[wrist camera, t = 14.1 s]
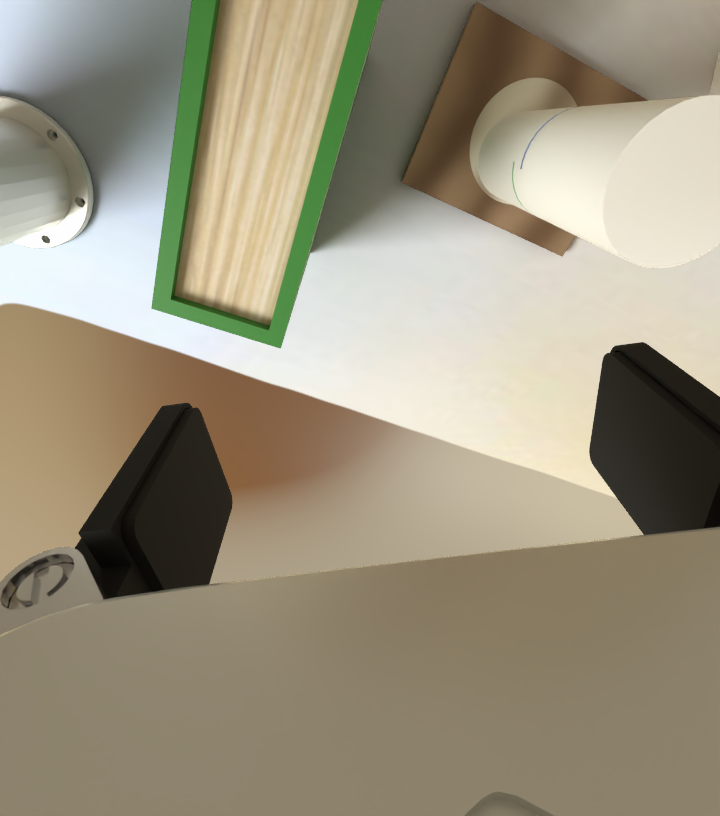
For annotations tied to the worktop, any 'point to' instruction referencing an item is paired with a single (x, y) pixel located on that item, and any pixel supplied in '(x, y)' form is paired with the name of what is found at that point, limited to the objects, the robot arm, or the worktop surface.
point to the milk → (716, 79)
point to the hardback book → (256, 155)
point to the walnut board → (498, 116)
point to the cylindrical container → (616, 174)
